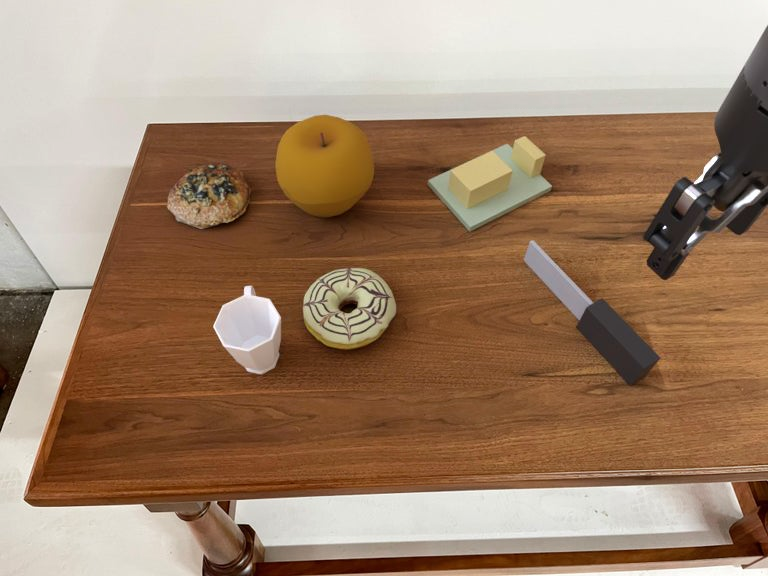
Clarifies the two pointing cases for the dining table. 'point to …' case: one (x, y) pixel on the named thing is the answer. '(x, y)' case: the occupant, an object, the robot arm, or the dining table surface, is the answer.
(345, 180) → the apple
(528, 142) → the butter slice
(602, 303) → the knife
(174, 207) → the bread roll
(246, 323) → the cup
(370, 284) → the decorated donut
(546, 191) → the butter board
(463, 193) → the butter block
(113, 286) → the dining table surface
